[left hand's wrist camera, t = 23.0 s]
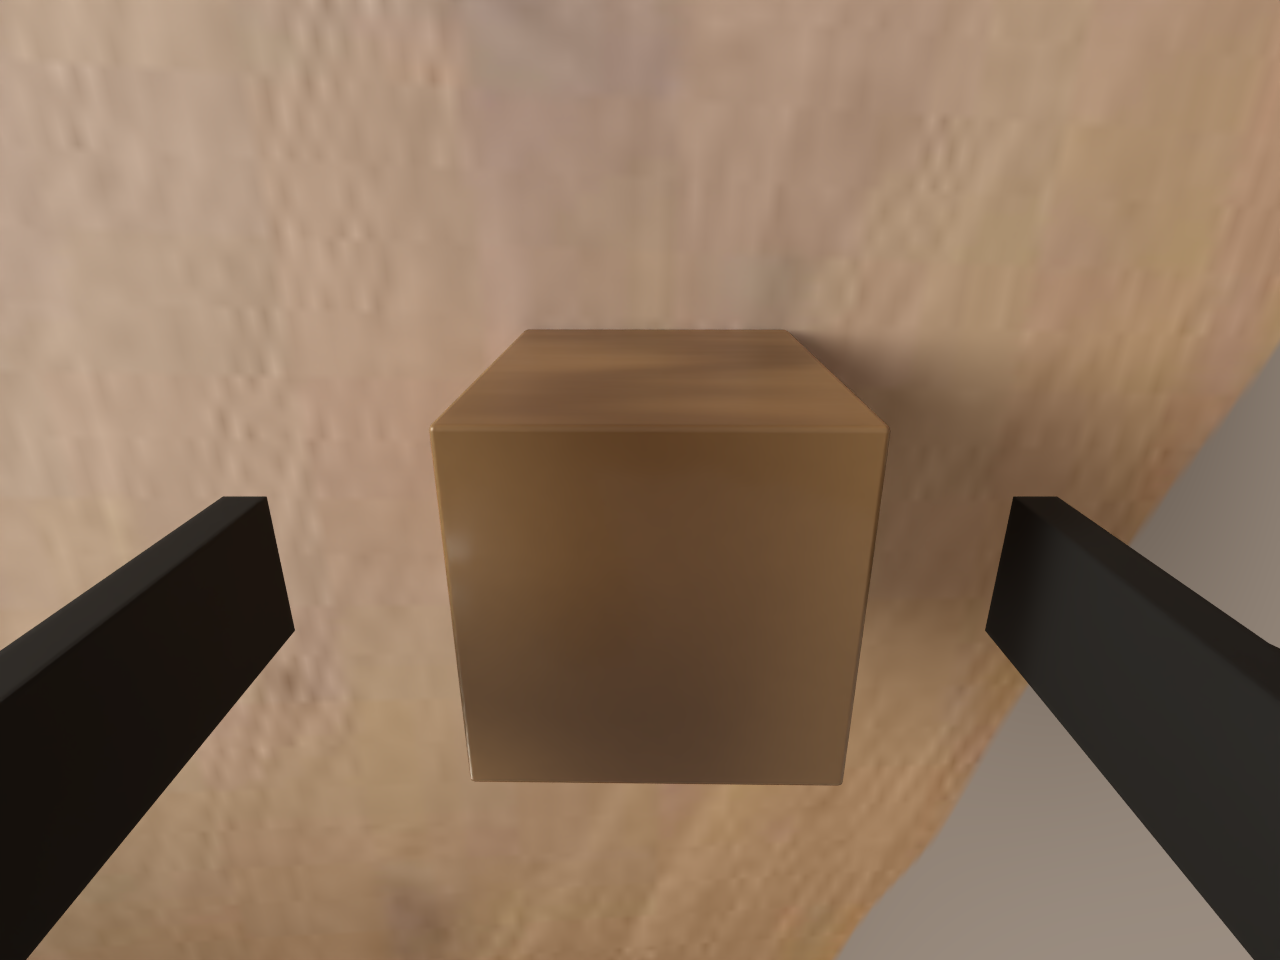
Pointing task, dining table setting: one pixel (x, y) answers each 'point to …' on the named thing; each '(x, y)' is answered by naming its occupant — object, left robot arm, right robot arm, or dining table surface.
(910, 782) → the dining table surface
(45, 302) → the dining table surface
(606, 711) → the block
